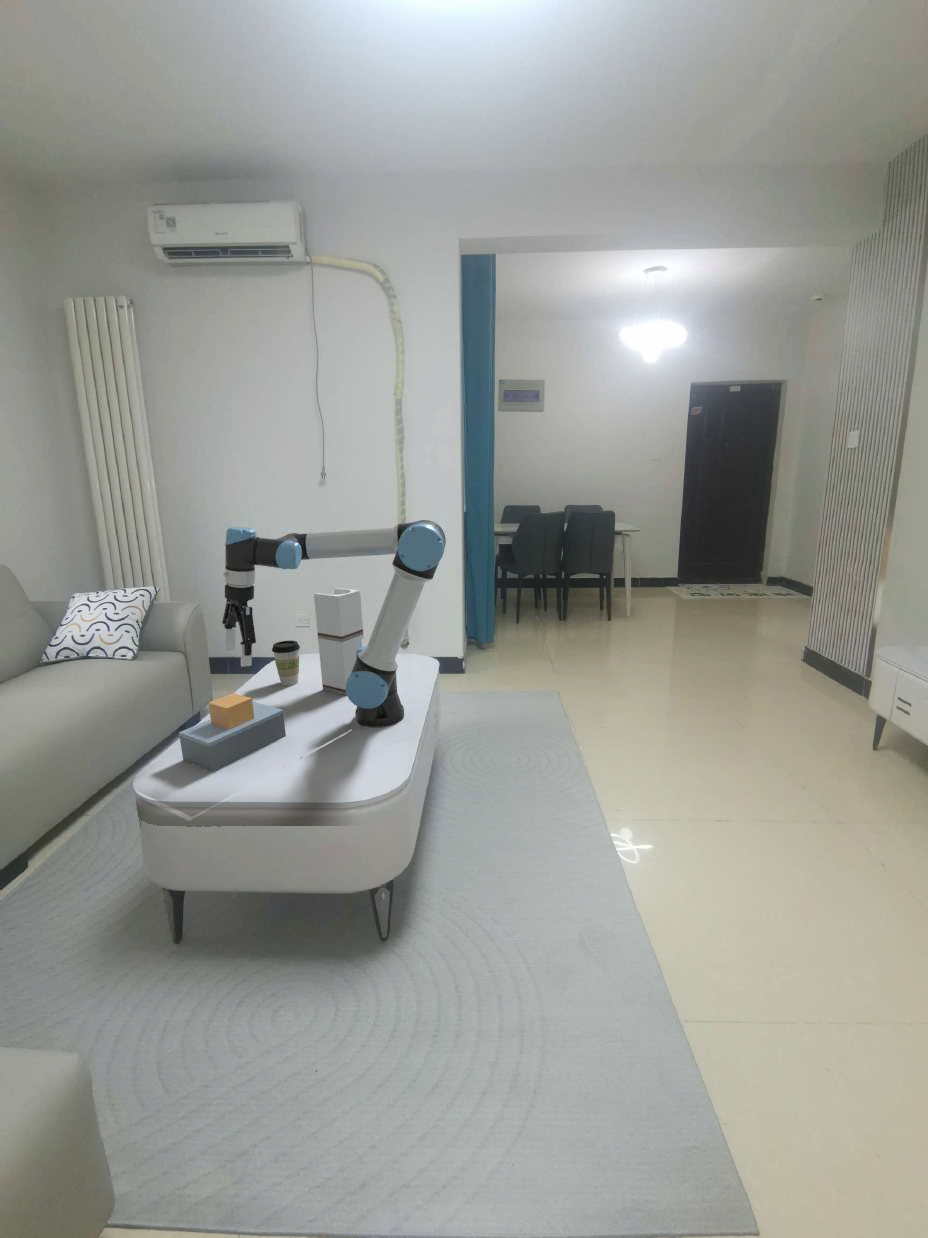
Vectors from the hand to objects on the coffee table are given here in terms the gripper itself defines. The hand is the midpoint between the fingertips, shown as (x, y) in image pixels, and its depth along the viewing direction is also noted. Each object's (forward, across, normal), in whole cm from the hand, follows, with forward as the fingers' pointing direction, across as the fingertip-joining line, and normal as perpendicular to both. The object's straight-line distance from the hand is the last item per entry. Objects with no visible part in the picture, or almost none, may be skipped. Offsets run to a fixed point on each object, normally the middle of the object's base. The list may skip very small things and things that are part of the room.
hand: (237, 658), depth 166 cm
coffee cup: (+25, -35, +31) cm, 53 cm away
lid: (+17, +7, -3) cm, 18 cm away
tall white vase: (+22, -16, +44) cm, 51 cm away
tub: (+25, +8, -2) cm, 26 cm away
